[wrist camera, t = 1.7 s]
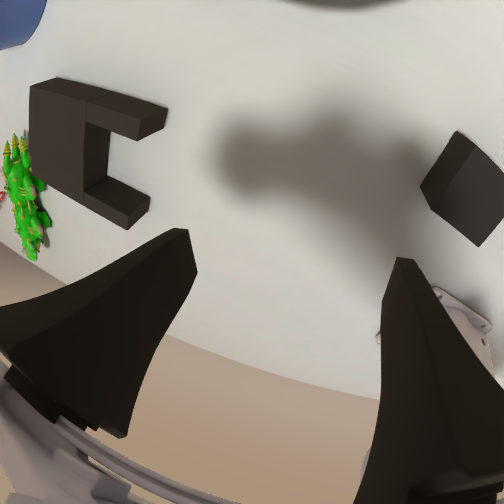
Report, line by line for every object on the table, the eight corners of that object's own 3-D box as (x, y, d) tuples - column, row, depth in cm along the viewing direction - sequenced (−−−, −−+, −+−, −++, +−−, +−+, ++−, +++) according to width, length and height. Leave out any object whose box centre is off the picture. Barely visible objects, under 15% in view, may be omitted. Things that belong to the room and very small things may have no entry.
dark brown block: (500, 172, 12) (522, 193, 10) (464, 221, 15) (478, 248, 12) (455, 130, 12) (475, 144, 10) (418, 186, 15) (430, 209, 12)
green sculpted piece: (33, 237, 33) (14, 255, 29) (15, 124, 21) (-14, 139, 17) (60, 257, 32) (40, 277, 29) (44, 135, 21) (11, 153, 17)
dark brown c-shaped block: (168, 109, 16) (141, 119, 14) (148, 211, 22) (127, 231, 20) (56, 77, 16) (29, 85, 14) (53, 161, 22) (31, 175, 20)
